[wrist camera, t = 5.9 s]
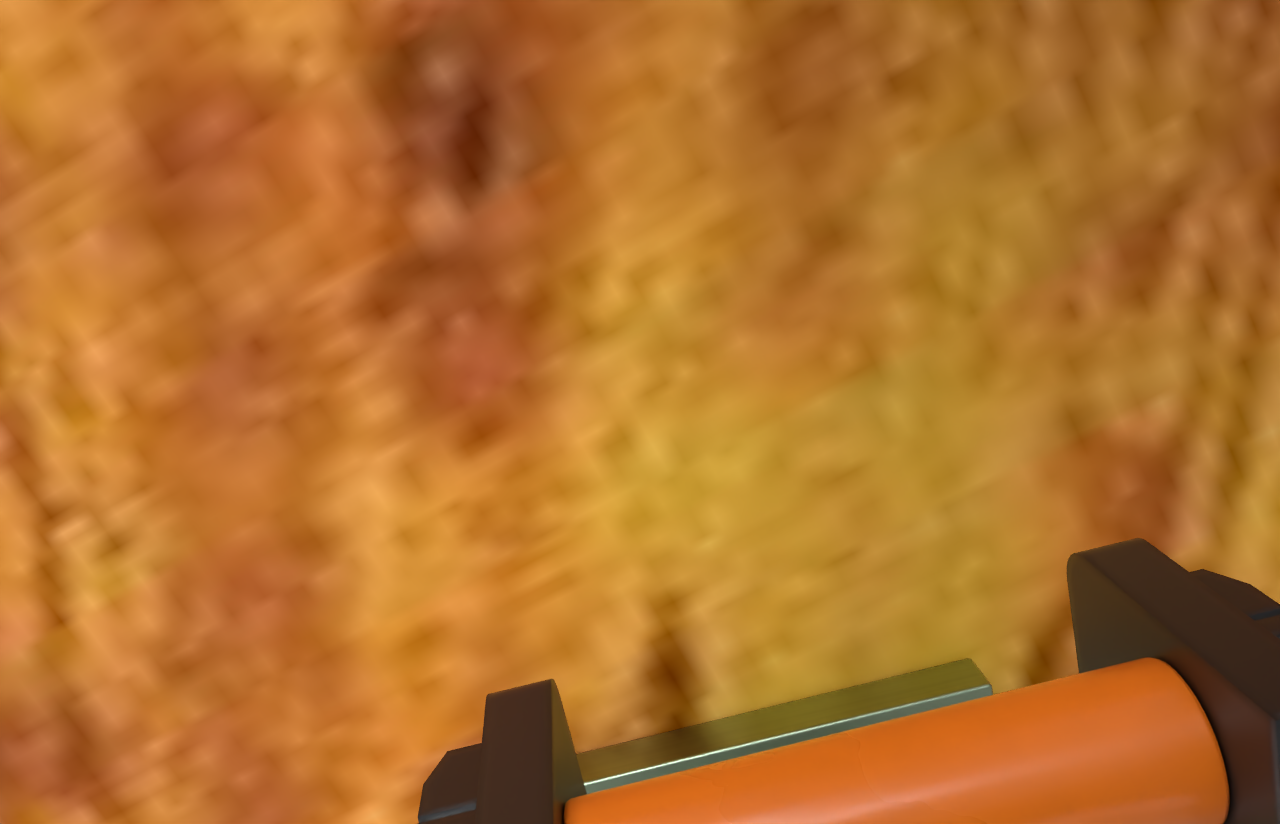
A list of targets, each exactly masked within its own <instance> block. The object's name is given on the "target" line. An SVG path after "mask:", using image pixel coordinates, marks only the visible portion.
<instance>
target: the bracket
mask: <svg viewBox="0 0 1280 824" xmlns="http://www.w3.org/2000/svg"><path fill="white" fill-rule="evenodd" d="M990 695H993V691H992V685H991V684H990V682H989V681H988V680H987V679H986V677H985V676H984V675H983V673H982V672H981V671H980V670H979V668H978V667H977V666H976V664H975V663H974V662H973V661H972V659H964V660H960V661H956V662H952V663H948V664H943V665H939V666H935V667H931V668H927V669H923V670H919V671H915V672H911V673H907V674H903V675H898V676H894V677H890V678H886V679H882V680H878V681H874V682H870V683H866V684H862V685H858V686H853V687H849V688H845V689H841V690H837V691H833V692H829V693H825V694H821V695H817V696H812V697H808V698H804V699H800V700H796V701H792V702H788V703H784V704H780V705H776V706H772V707H767V708H763V709H759V710H755V711H751V712H747V713H743V714H739V715H735V716H731V717H726V718H722V719H718V720H714V721H710V722H706V723H702V724H698V725H694V726H690V727H686V728H681V729H677V730H673V731H669V732H665V733H661V734H657V735H653V736H649V737H645V738H640V739H636V740H632V741H628V742H624V743H620V744H616V745H612V746H608V747H604V748H600V749H595V750H591V751H587V752H583V753H579V754H576V756H577V760H578V764H579V767H580V771H581V775H582V778H583V782H584V786H585V789H586V793H587V794H590V793H594V792H598V791H602V790H607V789H611V788H615V787H619V786H623V785H627V784H631V783H635V782H639V781H643V780H647V779H651V778H656V777H660V776H664V775H668V774H672V773H676V772H680V771H684V770H688V769H692V768H696V767H700V766H704V765H709V764H713V763H717V762H721V761H725V760H729V759H733V758H737V757H741V756H745V755H749V754H753V753H758V752H762V751H766V750H770V749H774V748H778V747H782V746H786V745H790V744H794V743H798V742H802V741H807V740H811V739H815V738H819V737H823V736H827V735H831V734H835V733H839V732H843V731H847V730H851V729H856V728H860V727H864V726H868V725H872V724H876V723H880V722H884V721H888V720H892V719H896V718H900V717H905V716H909V715H913V714H917V713H921V712H925V711H929V710H933V709H937V708H941V707H945V706H949V705H953V704H958V703H962V702H966V701H970V700H974V699H978V698H982V697H986V696H990Z"/></svg>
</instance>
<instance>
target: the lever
mask: <svg viewBox="0 0 1280 824" xmlns="http://www.w3.org/2000/svg"><path fill="white" fill-rule="evenodd" d="M1229 804H1230V795H1229V784H1228V778H1227V773H1226V769H1225V764H1224V760H1223V757H1222V754H1221V750H1220V747H1219V745H1218V742H1217V739H1216V736H1215V734H1214V731H1213V729H1212V727H1211V724H1210V722H1209V720H1208V718H1207V716H1206V714H1205V712H1204V710H1203V708H1202V706H1201V704H1200V703H1199V701H1198V699H1197V698H1196V696H1195V695H1194V693H1193V692H1192V690H1191V689H1190V687H1189V686H1188V684H1187V683H1186V682H1185V681H1184V679H1183V678H1182V677H1181V676H1180V675H1179V674H1178V673H1177V671H1176V670H1174V669H1173V668H1172V667H1171V666H1170V665H1168V664H1167V663H1166V662H1164V661H1162V660H1160V659H1156V658H1150V657H1147V658H1141V659H1137V660H1133V661H1129V662H1125V663H1121V664H1117V665H1113V666H1109V667H1105V668H1100V669H1096V670H1092V671H1088V672H1084V673H1080V674H1076V675H1072V676H1068V677H1064V678H1060V679H1056V680H1051V681H1047V682H1043V683H1039V684H1035V685H1031V686H1027V687H1023V688H1019V689H1015V690H1011V691H1007V692H1002V693H998V694H994V695H990V696H986V697H982V698H978V699H974V700H970V701H966V702H962V703H958V704H953V705H949V706H945V707H941V708H937V709H933V710H929V711H925V712H921V713H917V714H913V715H909V716H905V717H900V718H896V719H892V720H888V721H884V722H880V723H876V724H872V725H868V726H864V727H860V728H856V729H851V730H847V731H843V732H839V733H835V734H831V735H827V736H823V737H819V738H815V739H811V740H807V741H802V742H798V743H794V744H790V745H786V746H782V747H778V748H774V749H770V750H766V751H762V752H758V753H753V754H749V755H745V756H741V757H737V758H733V759H729V760H725V761H721V762H717V763H713V764H709V765H704V766H700V767H696V768H692V769H688V770H684V771H680V772H676V773H672V774H668V775H664V776H660V777H656V778H651V779H647V780H643V781H639V782H635V783H631V784H627V785H623V786H619V787H615V788H611V789H607V790H602V791H598V792H594V793H590V794H586V795H582V796H578V797H574V798H571V799H570V800H568V801H567V802H566V803H565V808H564V816H563V824H1224V823H1225V821H1226V819H1227V816H1228V812H1229Z"/></svg>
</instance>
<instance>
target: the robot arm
mask: <svg viewBox="0 0 1280 824" xmlns="http://www.w3.org/2000/svg"><path fill="white" fill-rule="evenodd" d="M1067 582H1068V590H1069V597H1070V605H1071V613H1072V621H1073V629H1074V637H1075V644H1076V652H1077V660H1078V668H1079V674H1080V673H1084V672H1088V671H1092V670H1096V669H1100V668H1105V667H1109V666H1113V665H1117V664H1121V663H1125V662H1129V661H1133V660H1137V659H1141V658H1147V657H1150V658H1156V659H1160V660H1162V661H1164V662H1166V663H1167V664H1168V665H1170V666H1171V667H1172V668H1173V669H1174V670H1176V671H1177V673H1178V674H1179V675H1180V676H1181V677H1182V678H1183V679H1184V681H1185V682H1186V683H1187V684H1188V686H1189V687H1190V689H1191V690H1192V692H1193V693H1194V695H1195V696H1196V698H1197V699H1198V701H1199V703H1200V704H1201V706H1202V708H1203V710H1204V712H1205V714H1206V716H1207V718H1208V720H1209V722H1210V724H1211V727H1212V729H1213V731H1214V734H1215V736H1216V739H1217V742H1218V745H1219V747H1220V750H1221V754H1222V757H1223V760H1224V764H1225V769H1226V773H1227V778H1228V784H1229V795H1230V804H1229V812H1228V816H1227V819H1226V821H1225V823H1224V824H1280V604H1278V603H1277V602H1275V601H1274V600H1272V599H1271V598H1269V597H1268V596H1266V595H1265V594H1264V593H1262V592H1261V591H1259V590H1258V589H1256V588H1255V587H1253V586H1252V585H1251V584H1248V583H1244V582H1241V581H1238V580H1235V579H1232V578H1229V577H1226V576H1223V575H1220V574H1217V573H1213V572H1210V571H1207V570H1204V569H1201V570H1197V571H1193V572H1188V571H1187V570H1185V569H1184V568H1183V567H1181V566H1180V565H1178V564H1177V563H1176V562H1174V561H1173V560H1172V559H1170V558H1169V557H1168V556H1166V555H1165V554H1163V553H1162V552H1161V551H1159V550H1158V549H1157V548H1155V547H1154V546H1153V545H1151V544H1150V543H1148V542H1147V541H1145V540H1144V539H1141V538H1136V539H1131V540H1127V541H1123V542H1119V543H1115V544H1111V545H1107V546H1103V547H1098V548H1094V549H1090V550H1086V551H1082V552H1078V553H1074V554H1072V555H1071V556H1070V557H1069V559H1068V562H1067ZM586 794H587V793H586V789H585V786H584V782H583V778H582V775H581V771H580V767H579V764H578V760H577V756H576V753H575V749H574V745H573V742H572V738H571V734H570V731H569V727H568V723H567V720H566V716H565V712H564V709H563V705H562V701H561V698H560V694H559V691H558V688H557V686H556V683H555V681H554V680H553V679H549V680H545V681H541V682H536V683H532V684H528V685H524V686H520V687H516V688H512V689H508V690H503V691H499V692H495V693H491V694H488V695H487V697H486V705H485V716H484V727H483V737H482V743H480V744H476V745H472V746H467V747H463V748H459V749H455V750H451V751H447V753H446V754H445V756H444V757H443V758H442V760H441V761H440V762H439V764H438V765H437V767H436V768H435V769H434V771H433V772H432V773H431V775H430V776H429V777H428V779H427V780H426V782H425V783H424V784H423V790H422V796H421V802H420V807H419V813H418V821H419V824H563V816H564V808H565V803H566V802H567V801H568V800H570V799H571V798H574V797H578V796H582V795H586Z"/></svg>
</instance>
